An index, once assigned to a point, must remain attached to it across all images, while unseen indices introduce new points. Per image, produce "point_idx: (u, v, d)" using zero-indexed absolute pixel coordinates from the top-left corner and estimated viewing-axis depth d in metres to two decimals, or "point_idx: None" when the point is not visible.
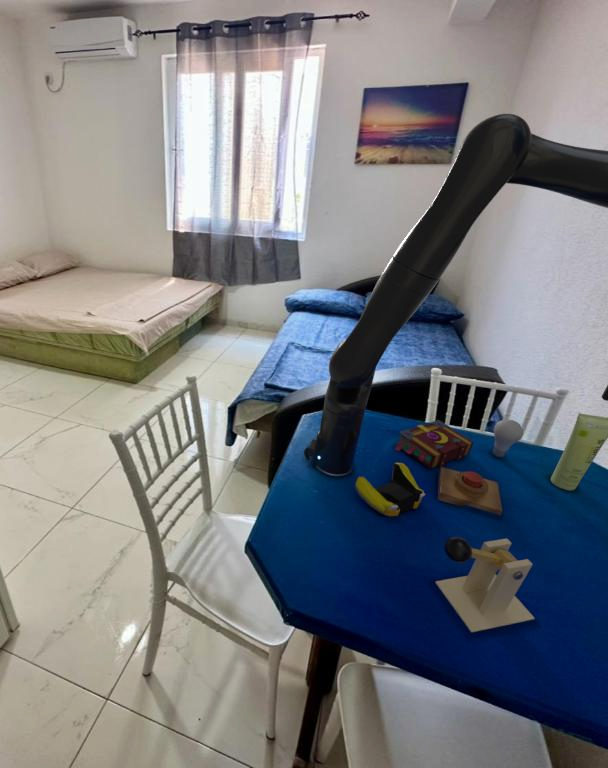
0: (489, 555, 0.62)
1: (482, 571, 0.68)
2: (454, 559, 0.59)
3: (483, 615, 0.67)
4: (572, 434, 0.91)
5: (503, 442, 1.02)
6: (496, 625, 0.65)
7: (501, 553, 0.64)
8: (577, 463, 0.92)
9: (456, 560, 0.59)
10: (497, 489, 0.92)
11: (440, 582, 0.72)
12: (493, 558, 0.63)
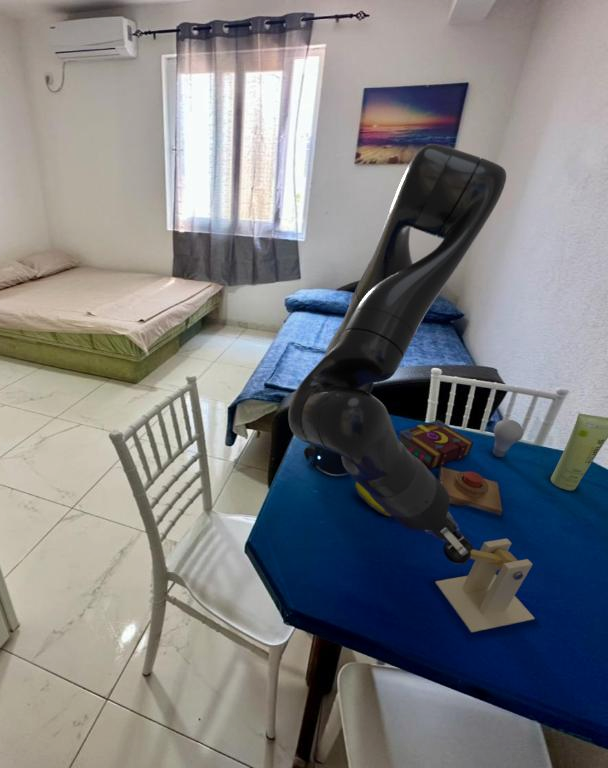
0: (488, 556, 0.62)
1: (482, 571, 0.68)
2: (453, 561, 0.60)
3: (483, 615, 0.67)
4: (572, 434, 0.91)
5: (503, 442, 1.02)
6: (496, 625, 0.65)
7: (501, 553, 0.64)
8: (577, 463, 0.92)
9: (455, 561, 0.60)
10: (497, 489, 0.92)
11: (440, 582, 0.72)
12: (493, 558, 0.63)
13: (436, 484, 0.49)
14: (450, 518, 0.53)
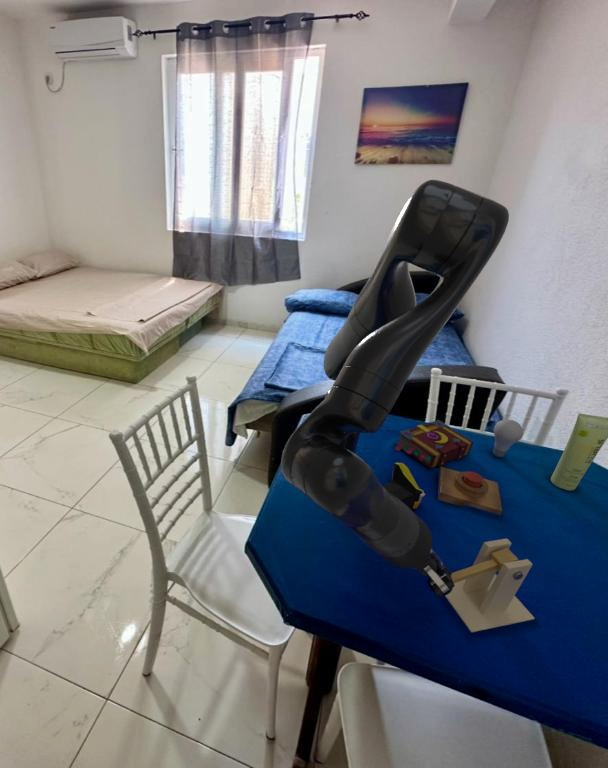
0: (479, 568, 0.64)
1: None
2: None
3: (483, 615, 0.67)
4: (572, 434, 0.91)
5: (503, 442, 1.02)
6: (496, 625, 0.65)
7: (495, 557, 0.64)
8: (577, 463, 0.92)
9: None
10: (497, 489, 0.92)
11: None
12: (485, 569, 0.64)
13: (419, 526, 0.53)
14: (433, 555, 0.57)
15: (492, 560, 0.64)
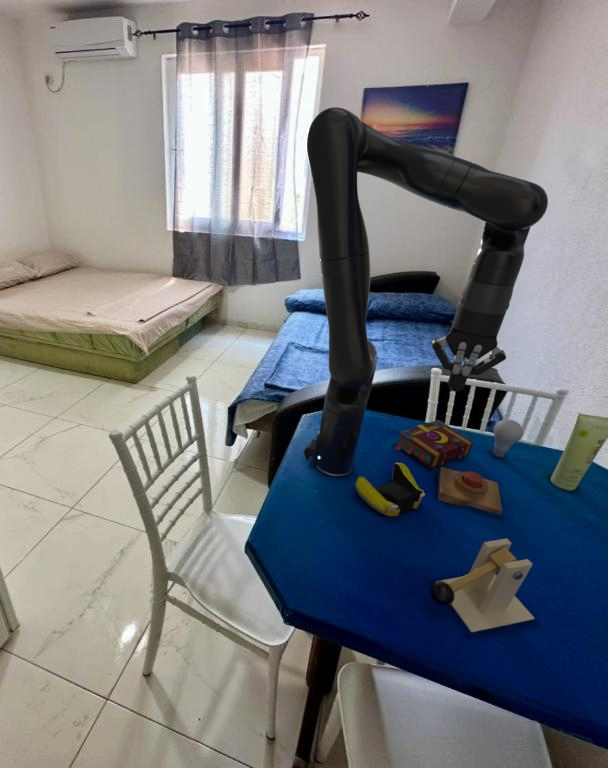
0: (479, 573, 0.64)
1: None
2: None
3: (483, 615, 0.67)
4: (572, 434, 0.91)
5: (503, 442, 1.02)
6: (496, 625, 0.65)
7: (493, 560, 0.64)
8: (577, 463, 0.92)
9: (444, 605, 0.65)
10: (497, 489, 0.92)
11: None
12: (485, 573, 0.64)
13: None
14: None
15: (491, 562, 0.65)
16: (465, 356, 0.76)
